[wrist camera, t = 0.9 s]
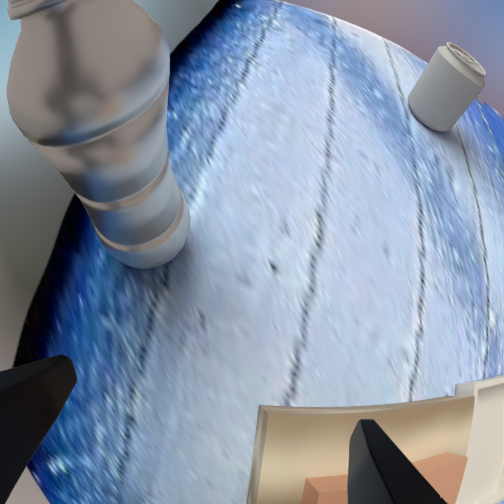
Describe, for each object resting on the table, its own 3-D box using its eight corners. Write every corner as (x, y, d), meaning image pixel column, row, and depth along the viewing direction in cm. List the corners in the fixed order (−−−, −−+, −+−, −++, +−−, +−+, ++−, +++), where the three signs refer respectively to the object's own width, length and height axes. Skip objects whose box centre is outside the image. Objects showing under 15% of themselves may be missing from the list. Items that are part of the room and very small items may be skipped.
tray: (494, 493, 14) (508, 496, 12) (425, 529, 14) (439, 536, 11) (516, 371, 20) (531, 368, 18) (455, 384, 20) (474, 383, 17)
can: (396, 93, 33) (432, 30, 22) (431, 102, 34) (468, 48, 23) (420, 131, 30) (468, 66, 19) (455, 138, 32) (500, 84, 21)
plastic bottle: (162, 293, 20) (3, -24, 1) (93, 248, 20) (-58, 16, 2) (209, 221, 22) (221, -82, 4) (140, 185, 23) (82, -63, 4)
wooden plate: (420, 524, 14) (440, 535, 11) (238, 555, 13) (243, 579, 9) (448, 396, 19) (475, 396, 16) (259, 405, 18) (268, 413, 15)
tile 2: (431, 509, 12) (449, 518, 10) (374, 528, 12) (391, 541, 9) (446, 452, 14) (468, 456, 12) (390, 467, 14) (410, 476, 11)
